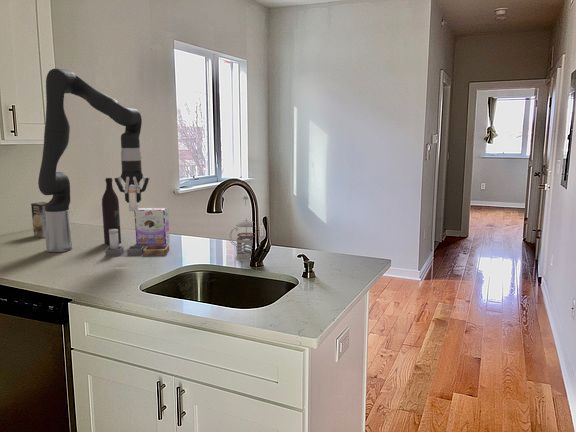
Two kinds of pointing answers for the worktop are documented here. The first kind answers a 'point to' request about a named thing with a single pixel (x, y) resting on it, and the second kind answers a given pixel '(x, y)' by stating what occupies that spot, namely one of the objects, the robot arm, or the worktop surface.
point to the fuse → (113, 239)
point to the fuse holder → (130, 251)
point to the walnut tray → (155, 250)
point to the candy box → (152, 226)
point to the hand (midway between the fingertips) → (133, 202)
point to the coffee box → (39, 219)
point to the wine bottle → (110, 211)
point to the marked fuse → (132, 198)
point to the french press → (244, 254)
